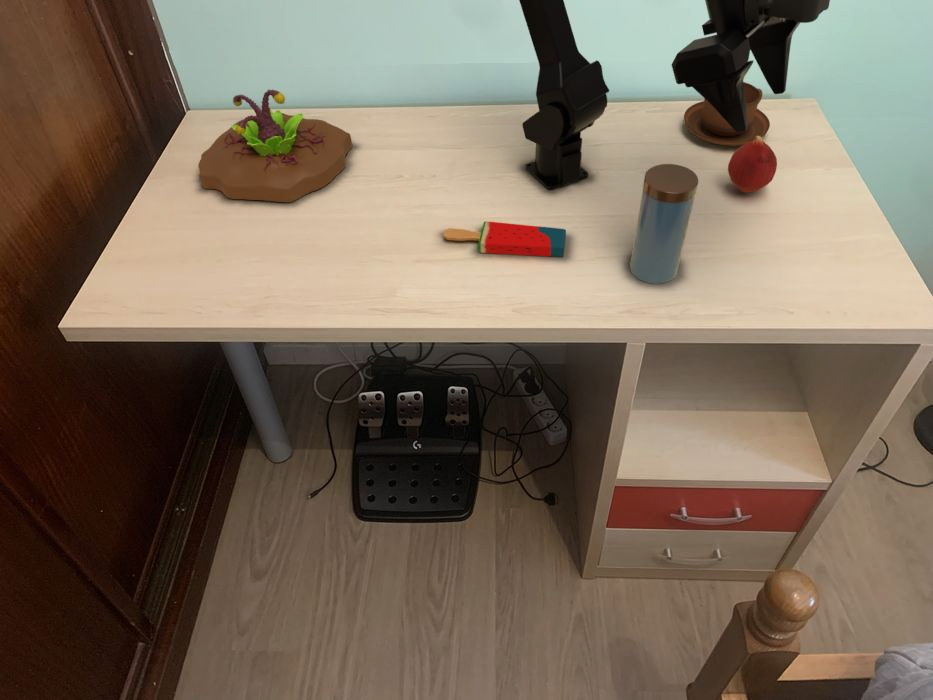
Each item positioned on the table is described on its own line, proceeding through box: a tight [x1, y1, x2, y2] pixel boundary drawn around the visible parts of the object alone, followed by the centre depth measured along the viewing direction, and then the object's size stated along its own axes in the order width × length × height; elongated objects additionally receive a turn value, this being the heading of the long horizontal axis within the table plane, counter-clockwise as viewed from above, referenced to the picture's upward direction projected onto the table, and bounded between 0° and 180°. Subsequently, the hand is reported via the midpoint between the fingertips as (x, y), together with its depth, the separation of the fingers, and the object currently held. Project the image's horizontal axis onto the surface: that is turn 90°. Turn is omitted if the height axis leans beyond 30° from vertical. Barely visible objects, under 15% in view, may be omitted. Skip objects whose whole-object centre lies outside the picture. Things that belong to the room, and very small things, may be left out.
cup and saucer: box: [683, 81, 771, 147], centre depth 105 cm, size 12×12×6 cm
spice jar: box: [629, 163, 699, 285], centre depth 82 cm, size 6×6×12 cm
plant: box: [197, 89, 353, 203], centre depth 101 cm, size 20×20×11 cm
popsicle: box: [442, 220, 567, 258], centre depth 91 cm, size 5×2×15 cm
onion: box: [727, 136, 778, 194], centre depth 94 cm, size 6×6×8 cm
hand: (761, 111), depth 77 cm, fingers open, 9 cm apart
